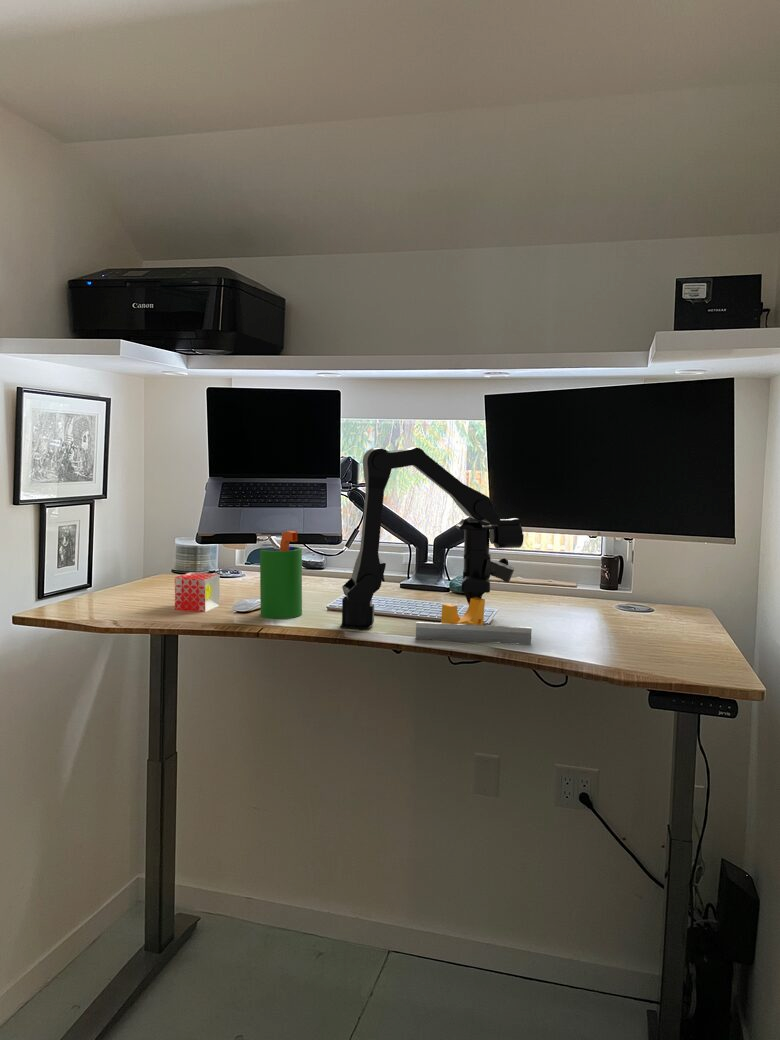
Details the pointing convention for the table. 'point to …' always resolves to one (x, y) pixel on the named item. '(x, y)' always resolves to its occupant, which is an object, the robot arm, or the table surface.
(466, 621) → the pipe clamp
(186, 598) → the puzzle cube
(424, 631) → the rail
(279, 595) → the cup with straw
